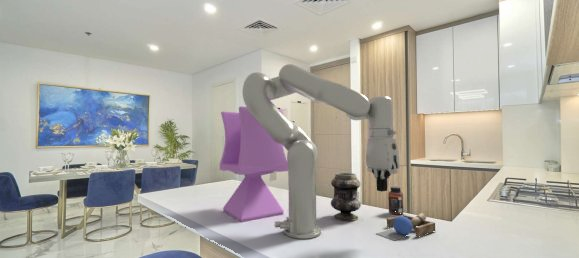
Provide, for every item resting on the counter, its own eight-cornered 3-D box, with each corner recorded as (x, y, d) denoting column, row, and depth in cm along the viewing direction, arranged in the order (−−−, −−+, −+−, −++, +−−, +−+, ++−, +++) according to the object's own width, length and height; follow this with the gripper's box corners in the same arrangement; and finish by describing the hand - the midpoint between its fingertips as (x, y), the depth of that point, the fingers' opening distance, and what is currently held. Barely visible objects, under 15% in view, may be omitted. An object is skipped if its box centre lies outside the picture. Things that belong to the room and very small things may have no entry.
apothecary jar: (367, 220, 102) (366, 174, 103) (341, 223, 98) (340, 175, 99) (349, 212, 113) (348, 171, 114) (325, 215, 109) (325, 172, 110)
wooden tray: (418, 237, 83) (418, 228, 83) (386, 227, 93) (386, 218, 93) (435, 231, 89) (435, 222, 89) (403, 222, 99) (403, 214, 99)
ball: (418, 223, 86) (409, 238, 87) (401, 212, 90) (393, 226, 91) (413, 224, 81) (403, 240, 82) (396, 212, 85) (387, 227, 86)
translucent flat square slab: (394, 240, 80) (394, 240, 80) (376, 234, 86) (376, 233, 86) (409, 235, 85) (409, 235, 85) (391, 229, 91) (391, 229, 91)
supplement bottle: (405, 215, 108) (404, 188, 109) (390, 214, 109) (389, 188, 110) (401, 211, 114) (401, 186, 114) (387, 211, 115) (387, 185, 116)
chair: (219, 211, 116) (220, 111, 118) (262, 204, 129) (263, 114, 131) (239, 223, 97) (240, 106, 100) (288, 214, 110) (287, 110, 113)
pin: (407, 226, 88) (425, 214, 90) (402, 223, 90) (419, 212, 93) (409, 232, 88) (426, 220, 91) (404, 229, 90) (421, 218, 93)
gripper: (408, 134, 80) (410, 193, 79) (370, 135, 93) (371, 186, 92) (393, 133, 76) (395, 196, 75) (355, 134, 89) (356, 188, 88)
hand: (382, 190), depth 84 cm, fingers closed
